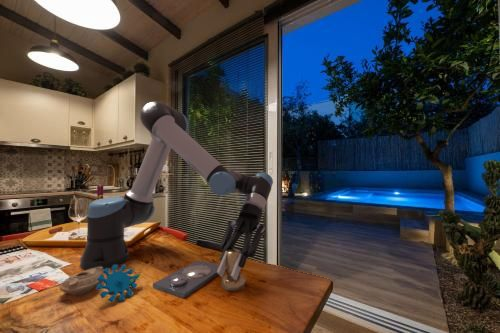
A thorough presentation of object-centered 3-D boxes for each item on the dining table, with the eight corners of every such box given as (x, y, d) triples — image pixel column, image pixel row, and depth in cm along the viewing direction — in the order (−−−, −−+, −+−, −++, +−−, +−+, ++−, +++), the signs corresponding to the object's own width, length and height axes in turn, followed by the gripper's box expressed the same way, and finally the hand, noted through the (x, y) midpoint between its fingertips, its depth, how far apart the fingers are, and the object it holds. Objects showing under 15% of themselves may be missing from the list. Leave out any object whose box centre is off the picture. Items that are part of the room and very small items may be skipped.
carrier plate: (152, 287, 63) (152, 279, 63) (198, 263, 81) (198, 256, 81) (184, 298, 58) (184, 289, 58) (225, 269, 76) (225, 262, 76)
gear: (101, 305, 52) (95, 266, 57) (91, 317, 54) (86, 278, 59) (146, 291, 61) (137, 259, 66) (136, 302, 63) (128, 270, 68)
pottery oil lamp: (114, 276, 69) (117, 259, 67) (82, 311, 58) (84, 292, 56) (89, 266, 70) (91, 249, 67) (52, 299, 58) (52, 280, 56)
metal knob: (216, 287, 63) (217, 252, 64) (229, 277, 69) (230, 246, 70) (237, 294, 60) (238, 257, 60) (249, 282, 66) (249, 249, 67)
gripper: (278, 217, 75) (257, 288, 60) (235, 213, 83) (208, 275, 68) (272, 203, 71) (249, 276, 55) (228, 200, 78) (196, 264, 63)
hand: (226, 275), depth 62 cm, fingers closed on metal knob, 4 cm apart
